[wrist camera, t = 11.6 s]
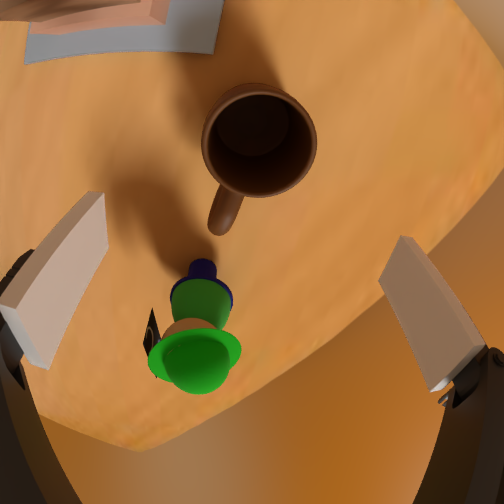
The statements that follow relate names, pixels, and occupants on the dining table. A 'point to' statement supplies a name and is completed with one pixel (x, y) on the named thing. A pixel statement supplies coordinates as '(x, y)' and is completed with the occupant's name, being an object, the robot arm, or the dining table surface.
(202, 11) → the plate
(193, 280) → the toy
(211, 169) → the mug
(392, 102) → the dining table surface
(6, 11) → the walnut block
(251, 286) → the dining table surface
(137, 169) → the dining table surface
